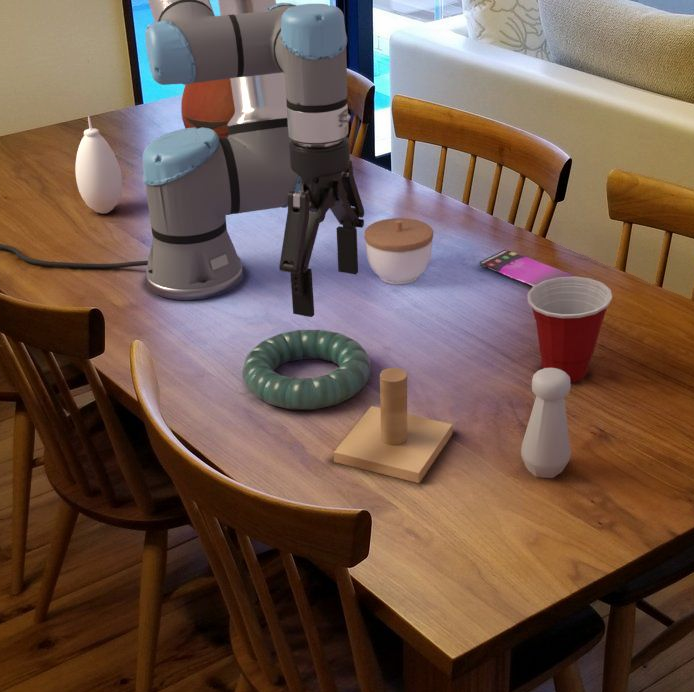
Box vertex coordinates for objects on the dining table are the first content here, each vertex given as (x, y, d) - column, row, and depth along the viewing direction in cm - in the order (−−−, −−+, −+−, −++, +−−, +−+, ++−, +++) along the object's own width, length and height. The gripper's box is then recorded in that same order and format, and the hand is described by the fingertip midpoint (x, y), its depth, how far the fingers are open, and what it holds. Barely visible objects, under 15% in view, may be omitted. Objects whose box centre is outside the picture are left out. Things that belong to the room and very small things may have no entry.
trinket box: (427, 293, 165) (428, 237, 160) (359, 289, 167) (358, 233, 162) (437, 263, 174) (437, 209, 169) (372, 260, 176) (371, 206, 171)
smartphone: (506, 253, 176) (506, 248, 176) (582, 280, 167) (582, 275, 167) (477, 267, 172) (478, 262, 172) (554, 296, 163) (554, 291, 163)
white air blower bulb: (73, 214, 197) (56, 118, 187) (105, 200, 202) (89, 106, 192) (103, 223, 193) (87, 125, 183) (134, 208, 198) (120, 112, 188)
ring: (221, 399, 141) (218, 373, 139) (282, 340, 154) (280, 315, 152) (336, 426, 135) (335, 399, 133) (390, 363, 148) (390, 337, 146)
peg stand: (334, 462, 129) (330, 387, 123) (371, 415, 137) (369, 344, 131) (419, 483, 125) (419, 407, 119) (452, 434, 133) (454, 361, 127)
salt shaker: (533, 448, 130) (540, 355, 123) (577, 463, 127) (587, 369, 120) (511, 472, 126) (516, 378, 119) (555, 488, 123) (564, 392, 116)
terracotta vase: (248, 212, 195) (236, 74, 182) (168, 193, 204) (151, 60, 191) (308, 178, 208) (301, 48, 195) (230, 162, 217) (219, 36, 204)
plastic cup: (514, 355, 149) (518, 277, 142) (591, 349, 149) (599, 271, 143) (532, 396, 140) (537, 315, 133) (613, 390, 140) (623, 309, 134)
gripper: (299, 175, 122) (309, 339, 133) (386, 112, 141) (389, 260, 152) (242, 167, 125) (257, 328, 136) (335, 106, 144) (341, 252, 155)
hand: (326, 292), depth 144 cm, fingers open, 13 cm apart
